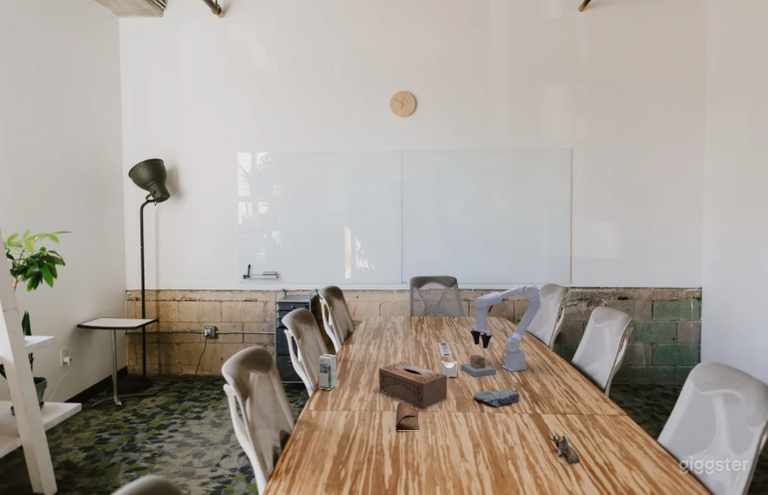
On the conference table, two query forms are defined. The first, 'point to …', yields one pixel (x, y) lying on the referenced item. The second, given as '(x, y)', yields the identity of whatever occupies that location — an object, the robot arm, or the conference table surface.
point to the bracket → (449, 369)
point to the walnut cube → (478, 361)
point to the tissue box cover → (413, 383)
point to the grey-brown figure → (565, 448)
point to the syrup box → (327, 371)
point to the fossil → (498, 396)
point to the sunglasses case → (406, 418)
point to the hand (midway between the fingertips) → (480, 346)
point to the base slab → (478, 370)
